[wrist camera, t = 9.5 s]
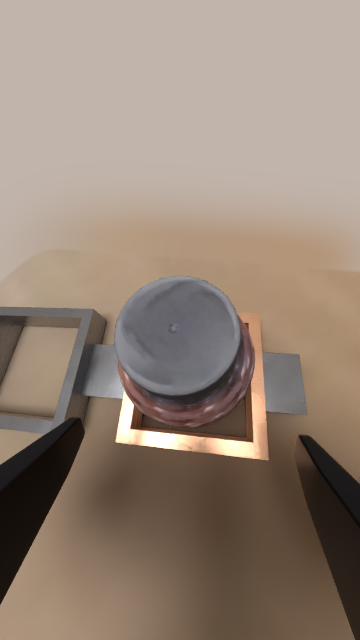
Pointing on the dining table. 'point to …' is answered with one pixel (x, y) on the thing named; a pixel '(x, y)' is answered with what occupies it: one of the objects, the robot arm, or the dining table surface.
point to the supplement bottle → (183, 352)
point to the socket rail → (104, 381)
